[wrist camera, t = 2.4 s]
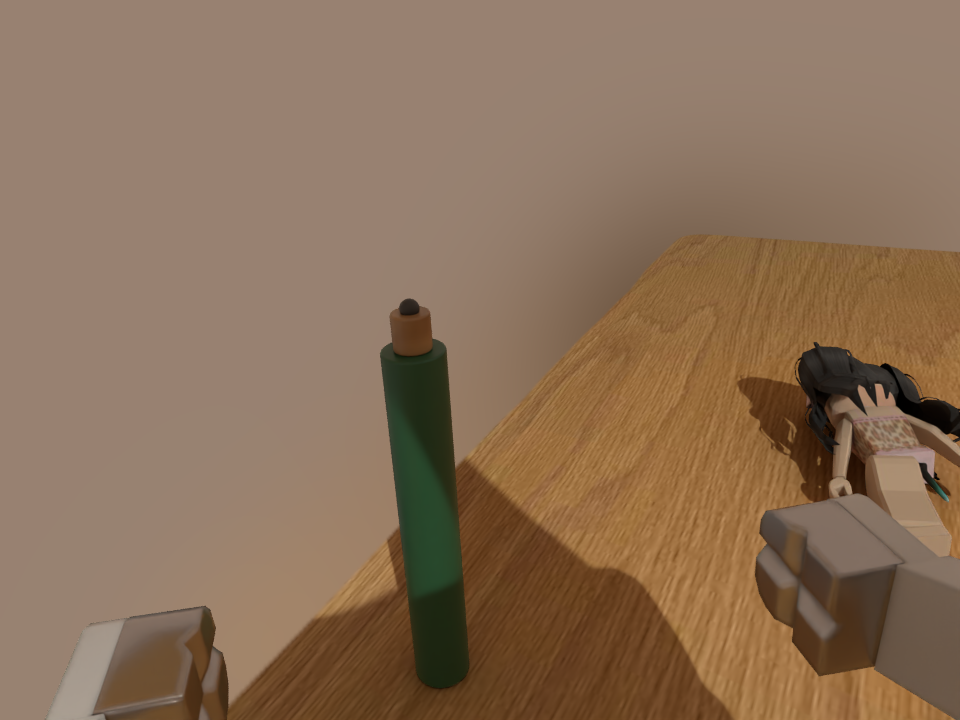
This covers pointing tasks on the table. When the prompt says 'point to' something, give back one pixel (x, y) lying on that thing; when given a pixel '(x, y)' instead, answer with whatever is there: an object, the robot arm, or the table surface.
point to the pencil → (426, 493)
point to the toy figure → (882, 436)
